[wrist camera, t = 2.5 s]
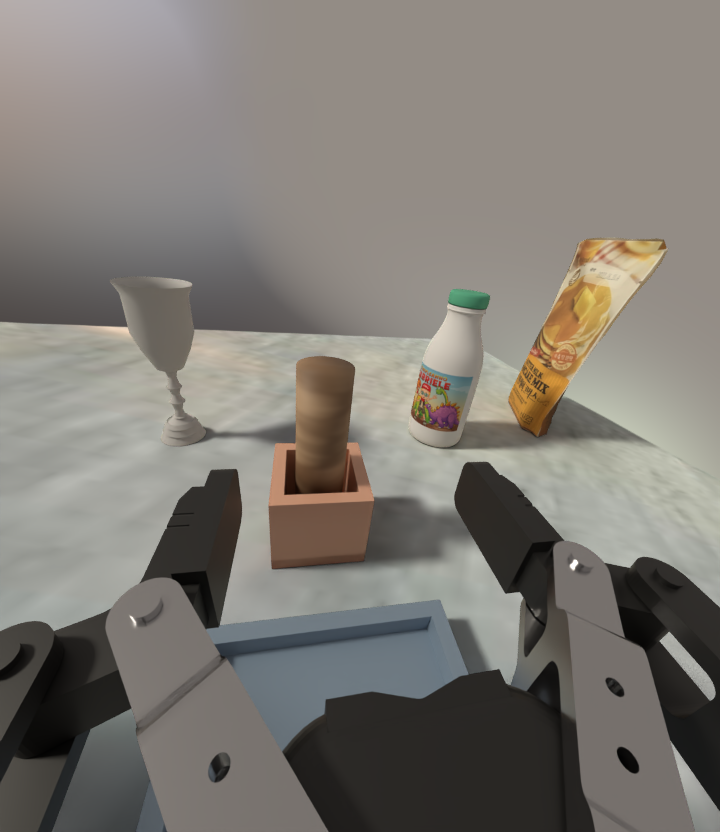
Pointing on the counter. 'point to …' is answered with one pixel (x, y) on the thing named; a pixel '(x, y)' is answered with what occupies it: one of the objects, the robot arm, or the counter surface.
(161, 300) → the chalice
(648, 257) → the pancake mix bag
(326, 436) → the walnut dowel
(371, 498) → the terracotta cup
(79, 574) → the counter surface
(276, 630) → the slate tray
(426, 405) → the milk bottle
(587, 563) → the robot arm
